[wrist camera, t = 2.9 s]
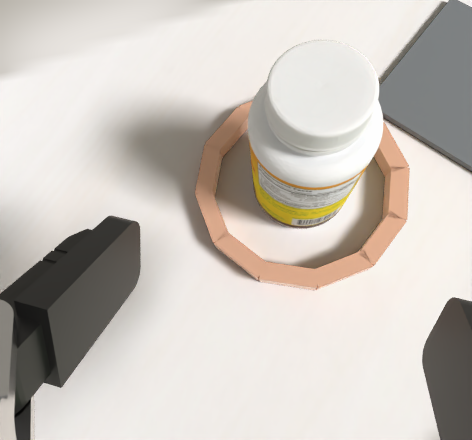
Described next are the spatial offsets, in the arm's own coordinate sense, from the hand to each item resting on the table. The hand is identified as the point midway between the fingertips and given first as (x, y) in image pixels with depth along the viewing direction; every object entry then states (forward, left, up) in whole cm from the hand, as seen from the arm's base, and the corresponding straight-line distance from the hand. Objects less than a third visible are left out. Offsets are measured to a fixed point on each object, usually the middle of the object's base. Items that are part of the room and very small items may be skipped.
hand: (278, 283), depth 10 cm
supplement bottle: (-3, +7, -12) cm, 14 cm away
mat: (+2, +19, -12) cm, 22 cm away
